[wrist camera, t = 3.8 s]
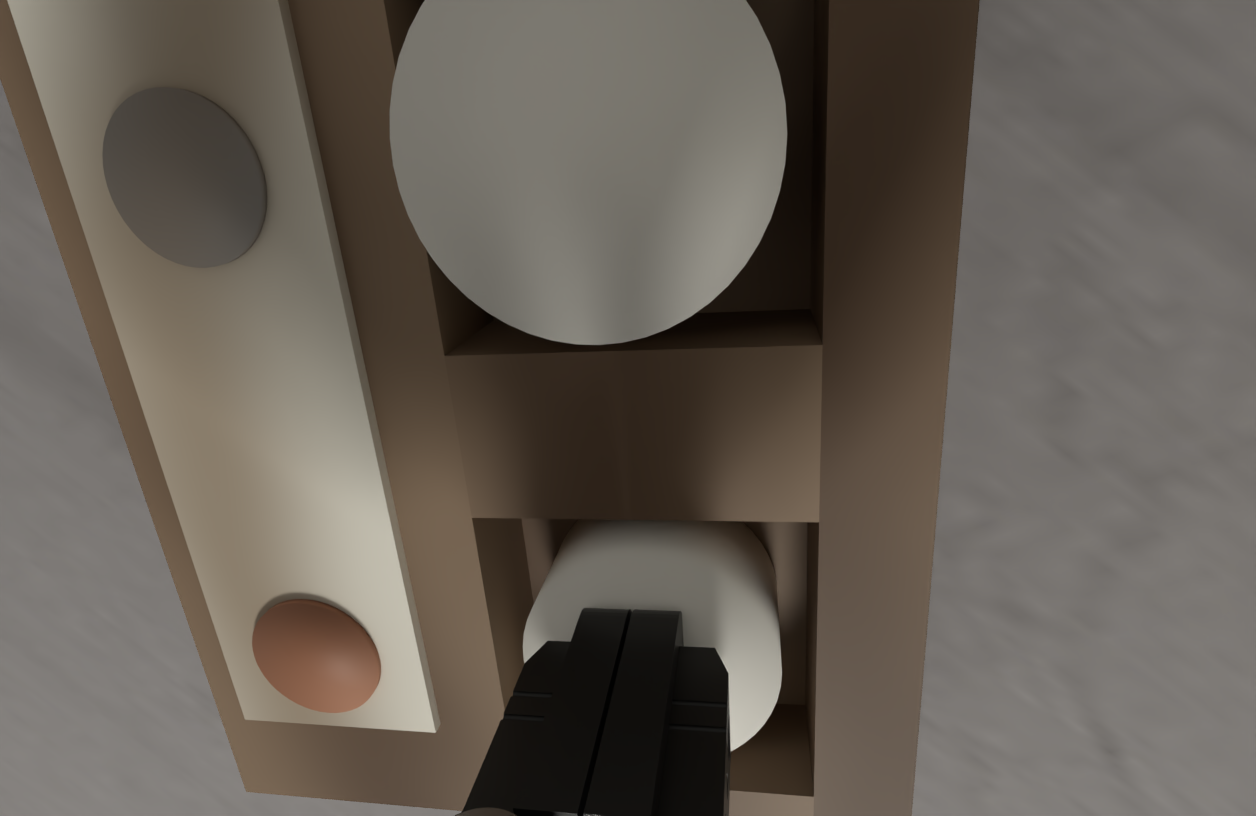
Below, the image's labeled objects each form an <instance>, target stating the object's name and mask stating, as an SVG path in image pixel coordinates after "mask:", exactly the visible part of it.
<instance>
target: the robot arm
mask: <svg viewBox="0 0 1256 816" xmlns="http://www.w3.org/2000/svg"><path fill="white" fill-rule="evenodd" d="M730 763H731V745H730V710H729V674H728V671H727V670H726V668H725V666H724V664H723V662H722V660H721V658H720V656H719V654H718V653H717V651H716V649H715V648H709V647H687V646H684V642H683V624H682V612H681V611H666V610H638V609H634V610H633V612H632V611H631V609H604V608H583V609H582V611H581V613H580V616H579V619H578V622H577V625H576V627H575V630H574V633H573V636H572V639H571V642H568V641H547V642H546V643H545V644H544V645H543V646H542V647H541V648H540V649H539V650H538V651H537V652H536V653H535V654H534V655H533V656H532V657H531V658H530V659H529V660H528V661H526V662H525V664H524V666H523V668H522V671H521V673H520V675H519V678H518V680H517V683H516V685H515V687H514V690H513V696H511V697H510V699H509V702H508V704H507V706H506V709H505V711H504V716H503V720H501V721H500V723H499V725H498V728H497V730H496V733H495V735H494V737H493V740H492V742H491V744H490V747H489V749H488V752H487V754H486V756H485V759H484V761H483V764H482V766H481V768H480V771H479V773H478V775H477V778H476V780H475V783H474V785H473V787H472V790H471V792H470V794H469V797H468V799H467V802H466V804H465V806H464V809H463V810H462V812H461V813H459V814H457V815H455V816H729V800H730Z"/></svg>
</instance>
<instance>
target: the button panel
mask: <svg viewBox="0 0 1256 816" xmlns="http://www.w3.org/2000/svg"><path fill="white" fill-rule="evenodd" d="M424 1H425V0H0V79H1V82H2V85H3V88H4V91H5V94H6V97H7V99H8V102H9V105H10V108H11V111H12V114H13V117H14V120H15V123H16V126H17V128H18V131H19V134H20V137H21V140H22V143H23V146H24V149H25V152H26V155H27V157H28V160H29V163H30V166H31V169H32V172H33V175H34V178H35V181H36V184H37V186H38V189H39V192H40V195H41V198H42V201H43V204H44V207H45V210H46V212H47V215H48V218H49V221H50V224H51V227H52V230H53V233H54V236H55V239H56V241H57V244H58V247H59V250H60V253H61V256H62V259H63V262H64V265H65V268H66V270H67V273H68V276H69V279H70V282H71V285H72V288H73V291H74V294H75V297H76V299H77V302H78V305H79V308H80V311H81V314H82V317H83V320H84V323H85V326H86V328H87V331H88V334H89V337H90V340H91V343H92V346H93V349H94V352H95V354H96V357H97V360H98V363H99V366H100V369H101V372H102V375H103V378H104V381H105V383H106V386H107V389H108V392H109V395H110V398H111V401H112V404H113V407H114V410H115V412H116V415H117V418H118V421H119V424H120V427H121V430H122V433H123V436H124V439H125V441H126V444H127V447H128V450H129V453H130V456H131V459H132V462H133V465H134V467H135V470H136V473H137V476H138V479H139V482H140V485H141V488H142V491H143V494H144V496H145V499H146V502H147V505H148V508H149V511H150V514H151V517H152V520H153V523H154V525H155V528H156V531H157V534H158V537H159V540H160V543H161V546H162V549H163V552H164V554H165V557H166V560H167V563H168V566H169V569H170V572H171V575H172V578H173V581H174V583H175V586H176V589H177V592H178V595H179V598H180V601H181V604H182V607H183V609H184V612H185V615H186V618H187V621H188V624H189V627H190V630H191V633H192V636H193V638H194V641H195V644H196V647H197V650H198V653H199V656H200V659H201V662H202V665H203V667H204V670H205V673H206V676H207V679H208V682H209V685H210V688H211V691H212V694H213V696H214V699H215V702H216V705H217V708H218V711H219V714H220V717H221V720H222V722H223V725H224V728H225V731H226V734H227V737H228V740H229V743H230V746H231V749H232V751H233V754H234V757H235V760H236V763H237V766H238V769H239V772H240V775H241V778H242V780H243V783H244V786H245V789H246V792H255V793H266V794H277V795H289V796H300V797H311V798H322V799H334V800H345V801H356V802H367V803H378V804H390V805H401V806H412V807H423V808H435V809H446V810H457V811H462V810H463V809H464V806H465V804H466V802H467V799H468V797H469V794H470V792H471V790H472V787H473V785H474V783H475V780H476V778H477V775H478V773H479V771H480V768H481V766H482V764H483V761H484V759H485V756H486V754H487V752H488V749H489V747H490V744H491V742H492V740H493V737H494V735H495V733H496V730H497V728H498V725H499V723H500V721H501V720H503V716H504V711H505V709H506V706H507V704H508V702H509V699H510V697H511V696H513V690H514V687H515V685H516V683H517V680H518V678H519V675H520V673H521V671H522V668H523V666H524V658H523V636H524V630H525V626H526V622H527V619H528V617H529V614H530V612H531V610H532V607H533V605H534V603H535V601H536V599H537V596H538V594H539V592H540V590H541V588H542V586H543V583H544V581H545V579H546V577H547V575H548V573H549V570H550V568H551V566H552V564H553V562H554V560H555V557H556V555H557V553H558V551H559V549H560V547H561V545H562V542H563V540H564V538H565V537H566V535H567V534H568V532H569V530H570V529H571V528H572V526H573V525H574V524H575V523H576V522H577V521H578V520H579V519H601V520H677V521H742V522H743V523H744V524H745V525H746V526H747V527H748V528H749V529H750V530H751V531H752V532H753V533H754V534H755V536H756V537H757V538H758V539H759V541H760V542H761V543H762V545H763V547H764V549H765V550H766V552H767V554H768V556H769V558H770V560H771V563H772V565H773V568H774V572H775V576H776V581H777V593H778V611H779V628H780V646H781V664H782V679H781V688H780V692H779V696H778V700H777V702H776V705H775V707H774V709H773V711H772V713H771V715H770V716H769V718H768V720H767V721H766V723H765V724H764V725H763V726H762V728H761V729H760V730H759V731H758V732H757V733H756V734H755V735H754V736H753V737H752V738H750V739H749V740H748V741H747V742H746V743H744V744H743V745H741V746H740V747H738V748H736V749H735V750H733V751H731V763H730V800H729V816H912V804H913V792H914V780H915V768H916V756H917V744H918V732H919V720H920V708H921V696H922V684H923V672H924V660H925V648H926V636H927V624H928V612H929V600H930V588H931V576H932V564H933V552H934V540H935V528H936V516H937V504H938V492H939V480H940V468H941V456H942V444H943V432H944V420H945V408H946V396H947V384H948V372H949V360H950V348H951V336H952V324H953V312H954V300H955V288H956V276H957V264H958V252H959V240H960V228H961V216H962V204H963V192H964V180H965V168H966V156H967V144H968V132H969V120H970V108H971V96H972V84H973V72H974V60H975V48H976V36H977V24H978V12H979V0H746V1H747V3H748V4H749V6H750V7H751V9H752V10H753V12H754V13H755V15H756V16H757V18H758V20H759V22H760V24H761V26H762V28H763V31H764V33H765V35H766V37H767V39H768V41H769V43H770V45H771V48H772V51H773V55H774V58H775V61H776V64H777V67H778V70H779V73H780V78H781V83H782V88H783V93H784V99H785V104H786V121H787V146H786V161H785V167H784V173H783V178H782V183H781V188H780V193H779V196H778V199H777V202H776V205H775V208H774V211H773V214H772V217H771V220H770V222H769V224H768V226H767V228H766V230H765V232H764V234H763V237H762V239H761V241H760V243H759V245H758V246H757V248H756V249H755V251H754V252H753V254H752V256H751V257H750V259H749V260H748V262H747V263H746V265H745V266H744V268H743V269H742V270H741V271H740V272H739V274H738V275H737V276H736V277H735V278H734V280H733V281H732V282H731V283H730V284H729V286H728V287H726V288H725V289H724V290H723V291H722V292H721V293H720V294H719V295H718V296H717V297H716V298H715V299H714V300H712V301H711V302H710V303H709V304H708V305H706V306H705V307H703V308H702V309H701V310H699V311H698V312H696V313H695V314H694V315H692V316H691V317H689V318H688V319H686V320H684V321H682V322H680V323H678V324H676V325H674V326H673V327H671V328H669V329H667V330H664V331H661V332H659V333H656V334H653V335H650V336H648V337H645V338H641V339H636V340H632V341H628V342H623V343H615V344H605V345H581V344H570V343H564V342H558V341H552V340H548V339H545V338H542V337H538V336H535V335H532V334H528V333H526V332H524V331H522V330H519V329H517V328H515V327H512V326H510V325H508V324H506V323H504V322H503V321H501V320H499V319H498V318H496V317H494V316H492V315H491V314H489V313H487V312H486V311H485V310H483V309H482V308H481V307H479V306H478V305H477V304H475V303H474V302H473V301H472V300H470V299H469V298H468V297H466V296H465V295H464V294H463V293H462V292H461V291H460V290H459V289H458V288H457V287H456V286H455V285H454V284H453V283H452V282H451V281H450V280H449V279H448V278H447V276H446V275H445V274H444V273H443V272H442V270H441V269H440V268H439V267H438V265H437V264H436V263H435V262H434V260H433V259H432V257H431V256H430V254H429V253H428V251H427V250H426V248H425V246H424V245H423V243H422V242H421V240H420V239H419V237H418V235H417V233H416V231H415V229H414V226H413V224H412V222H411V220H410V218H409V216H408V214H407V211H406V208H405V206H404V203H403V200H402V197H401V194H400V192H399V188H398V184H397V179H396V175H395V171H394V167H393V161H392V152H391V144H390V102H391V94H392V85H393V79H394V75H395V71H396V67H397V63H398V58H399V55H400V52H401V49H402V47H403V44H404V41H405V38H406V36H407V33H408V30H409V28H410V26H411V24H412V22H413V21H414V19H415V17H416V15H417V13H418V11H419V9H420V7H421V5H422V4H423V2H424Z"/></svg>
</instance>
